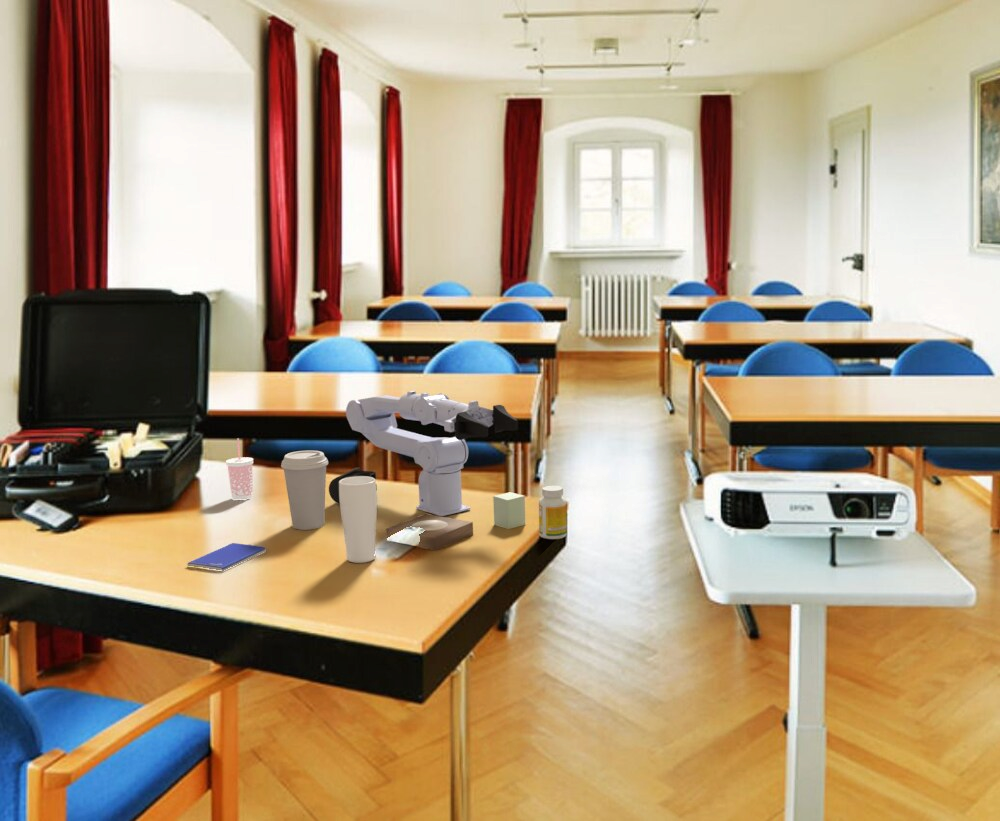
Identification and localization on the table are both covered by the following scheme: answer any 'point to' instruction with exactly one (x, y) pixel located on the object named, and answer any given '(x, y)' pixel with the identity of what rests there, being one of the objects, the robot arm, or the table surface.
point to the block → (509, 510)
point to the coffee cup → (306, 488)
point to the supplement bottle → (552, 513)
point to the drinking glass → (359, 517)
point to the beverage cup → (240, 476)
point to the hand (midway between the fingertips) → (501, 428)
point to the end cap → (355, 472)
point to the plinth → (436, 530)
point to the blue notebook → (227, 556)
